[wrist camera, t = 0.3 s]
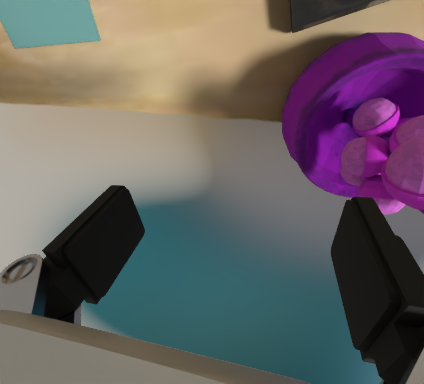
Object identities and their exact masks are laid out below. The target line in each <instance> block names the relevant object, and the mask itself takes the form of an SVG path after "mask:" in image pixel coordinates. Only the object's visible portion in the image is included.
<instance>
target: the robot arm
mask: <svg viewBox="0 0 424 384" xmlns="http://www.w3.org/2000/svg"><path fill="white" fill-rule="evenodd" d="M144 233H145V229H144V226H143V224H142V221H141V219H140V216H139V214H138V211H137V209H136V206H135V204H134V201H133V199H132V197H131V194H130V192H129V190H128V189H126V187H125V186H119V185H118V186H117V185H112V186H110V187H109V188H108V189H107V190H106V191H105V192H104V193H102V194H101V196H99V197H98V198H97V199H96V200H95V201H94V202H93V203H92V204H91V205H90V206H89V207H88V208H87V209H86V210H85V211H83V212H82V213H81V214H80V215H79V216H78V217H77V218H76V219H75V220H74V221H73V222H72V223H71V224H70V225H69V226H68V227H66V228H65V229H64V230H63V231H62V232H61V233H60V234H59V235H58V236H57V237H56V238H55V239H54V240H53V241H52V242H51V243H50V244H48V245H47V246H46V247H45V248H44V249H43V250H42V251H43V252H44V253H45V255H46V257H45V258H44V259H43V258H42V257H41V256H40V255H37V254H30V255H27V256H24V257H22V258H19V259H17V260H16V261H14V262H12V263H11V264H10V265H8V266H7V267H6V268H5V269H4V270H3V271H2V272H1V273H0V384H311V383H307V382H303V381H300V380H296V379H292V378H289V377H285V376H281V375H277V374H273V373H269V372H265V371H261V370H258V369H254V368H250V367H245V366H242V365H238V364H234V363H230V362H226V361H222V360H218V359H214V358H210V357H206V356H202V355H198V354H194V353H190V352H186V351H182V350H178V349H174V348H170V347H166V346H162V345H158V344H154V343H150V342H145V341H142V340H138V339H134V338H129V337H126V336H122V335H118V334H113V333H109V332H105V331H101V330H97V329H93V328H89V327H85V326H81V303H82V301H83V300H85V301H86V302H88V303H92V304H97V303H98V302H99V300H100V299H101V298H102V297H103V296H105V295H106V293H107V292H108V290H109V288H110V287H111V285H112V284H113V282H114V281H115V279H116V278H117V276H118V274H119V273H120V271H121V269H122V268H123V266H124V265H125V263H126V262H127V261H128V259H129V257H130V256H131V254H132V253H133V251H134V250H135V248H136V247H137V245H138V243H139V242H140V240H141V239H142V237H143V236H144ZM331 257H332V261H333V265H334V270H335V274H336V278H337V282H338V286H339V289H340V294H341V298H342V302H343V306H344V310H345V314H346V318H347V322H348V326H349V331H350V334H351V339H352V343H353V346H354V347H355V349H357V350H360V352H361V356H362V360H363V361H364V362H369V363H374V364H376V367H377V370H378V374H379V376H380V377H381V378H382V380H381V382H380V383H379V384H424V274H423V272H422V271H421V270H420V267H419V266H418V264H417V263H416V261H415V259H414V258H413V256H412V254H411V253H410V251H409V249H408V248H407V246H406V244H405V243H404V241H403V240H402V239H401V238H400V237H399V236H396V235H395V234H394V233H393V231H392V229H391V228H390V226H389V224H388V222H387V221H386V219H385V217H384V216H383V214H382V212H381V210H380V209H379V207H378V205H377V204H376V202H375V200H374V199H373V198H372V197H353V198H352V199H351V200H347V201H346V203H345V206H344V209H343V212H342V215H341V218H340V221H339V225H338V228H337V231H336V234H335V237H334V240H333V244H332V247H331Z"/></svg>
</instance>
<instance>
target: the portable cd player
mask: <svg viewBox="0 0 424 384" xmlns="http://www.w3.org/2000/svg"><path fill="white" fill-rule="evenodd" d="M289 1H290V14H291V28H292V33H295V32H298V31H300V30H303V29H306V28H309V27H312V26H315V25H318V24H321V23H324V22H327V21H330V20H333V19H336V18H339V17H342V16H345V15H348V14H351V13H354V12H357V11H360V10H363V9H366V8H369V7H371V6H374V5H377V4H380V3H383V2H386V1H389V0H289Z"/></svg>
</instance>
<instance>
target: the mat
mask: <svg viewBox="0 0 424 384" xmlns="http://www.w3.org/2000/svg"><path fill="white" fill-rule="evenodd" d="M0 21H1V23H2V24H3V26H4V28H5V30H6V32H7V34H8V36H9V38H10V40H11V42H12V44H13V46H14V48H26V47H37V46H47V45H58V44H69V43H79V42H90V41H101V40H100V36H99V33H98V30H97V27H96V23H95V20H94V17H93V13H92V10H91V7H90V4H89V0H0Z"/></svg>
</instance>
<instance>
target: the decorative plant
mask: <svg viewBox="0 0 424 384" xmlns="http://www.w3.org/2000/svg"><path fill="white" fill-rule="evenodd" d="M282 133H283V137H284V140H285V143H286V145H287V147H288V150H289V153H290V155H291V157H292V158H293V159H294V160H295V161H296V162H297V163H298V165H299V167H300V168H301V170H302V172H303V173H304V174H305V176H306V177H307V178H308V179H309V180H310V181H311V182H312V183H313V184H315V185H316V186H318V187H319V188H321V189H323V190H325V191H327V192H330V193H333V194H335V195H339V196H344V197H372V198H373V199H374V200H375V202H376V204H377V205H378V207H379V209H380V210H381V212H382V214H392V213H395V212H398V211H399V210H400V209H401V208H403V207H404V206H405V205H408V206H410V207H412V208H415V209H418V210H420V211H421V212H422V213H423V214H424V41H422V40H420V39H418V38H416V37H414V36H412V35H410V34H404V33H365V34H363V35H360V36H357V37H354V38H351V39H349V40H346V41H343V42H340V43H338V44H335V45H334V46H333V47H331V48H330V49H328V50H327V51H326V52H324V53H323V54H322V55H320V56H319V57H318V58H316V59H315V60H313V61H312V62H311V63H309V65H308V66H307V67H306V68H305V70H304V71H303V72H302V74H301V75H300V76H299V78H298V79H297V80H296V82H295V83H294V84H293V85H292V87H291V89H290V92H289V94H288V97H287V100H286V102H285V105H284V108H283V111H282Z"/></svg>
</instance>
